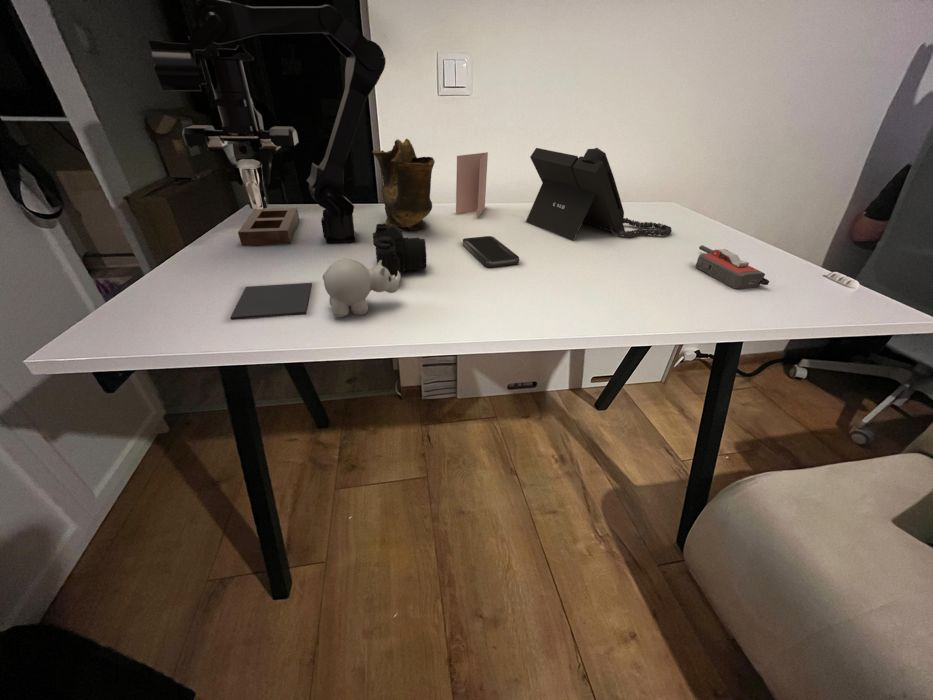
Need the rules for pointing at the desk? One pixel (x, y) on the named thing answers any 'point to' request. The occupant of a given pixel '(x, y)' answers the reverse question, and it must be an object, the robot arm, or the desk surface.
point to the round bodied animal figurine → (356, 285)
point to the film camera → (398, 250)
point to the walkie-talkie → (729, 269)
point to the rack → (269, 227)
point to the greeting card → (471, 182)
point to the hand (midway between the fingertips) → (255, 184)
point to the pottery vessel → (405, 185)
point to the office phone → (580, 195)
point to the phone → (490, 251)
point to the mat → (272, 301)
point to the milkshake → (253, 182)
